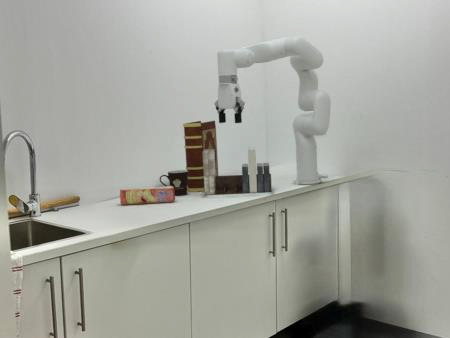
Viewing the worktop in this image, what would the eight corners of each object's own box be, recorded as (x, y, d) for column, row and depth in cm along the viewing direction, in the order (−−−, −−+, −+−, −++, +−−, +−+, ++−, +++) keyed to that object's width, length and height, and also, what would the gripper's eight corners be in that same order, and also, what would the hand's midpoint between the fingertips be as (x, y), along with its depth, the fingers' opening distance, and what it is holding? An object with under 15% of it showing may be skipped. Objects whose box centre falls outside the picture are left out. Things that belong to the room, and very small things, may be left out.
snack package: (175, 200, 254) (174, 183, 253) (174, 202, 247) (173, 186, 246) (121, 203, 251) (120, 186, 250) (119, 206, 244) (118, 189, 243)
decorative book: (202, 191, 272) (198, 123, 268) (185, 191, 274) (181, 123, 270) (219, 183, 294) (215, 120, 290) (203, 183, 296) (199, 120, 292)
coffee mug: (193, 193, 269) (192, 170, 268) (181, 196, 261) (180, 173, 260) (171, 192, 274) (170, 169, 272) (159, 195, 266) (157, 172, 265)
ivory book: (257, 188, 270) (255, 147, 267) (257, 192, 259) (255, 149, 256) (250, 188, 269) (248, 147, 267) (249, 192, 258) (247, 149, 256)
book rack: (271, 189, 272) (269, 146, 270) (272, 194, 258) (270, 149, 256) (207, 192, 270) (204, 148, 268) (204, 197, 256) (202, 152, 254)
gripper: (249, 79, 248) (251, 122, 250) (221, 81, 260) (223, 122, 262) (235, 80, 243) (237, 123, 245) (207, 81, 254) (209, 123, 257)
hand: (230, 122), depth 253 cm, fingers open, 9 cm apart
